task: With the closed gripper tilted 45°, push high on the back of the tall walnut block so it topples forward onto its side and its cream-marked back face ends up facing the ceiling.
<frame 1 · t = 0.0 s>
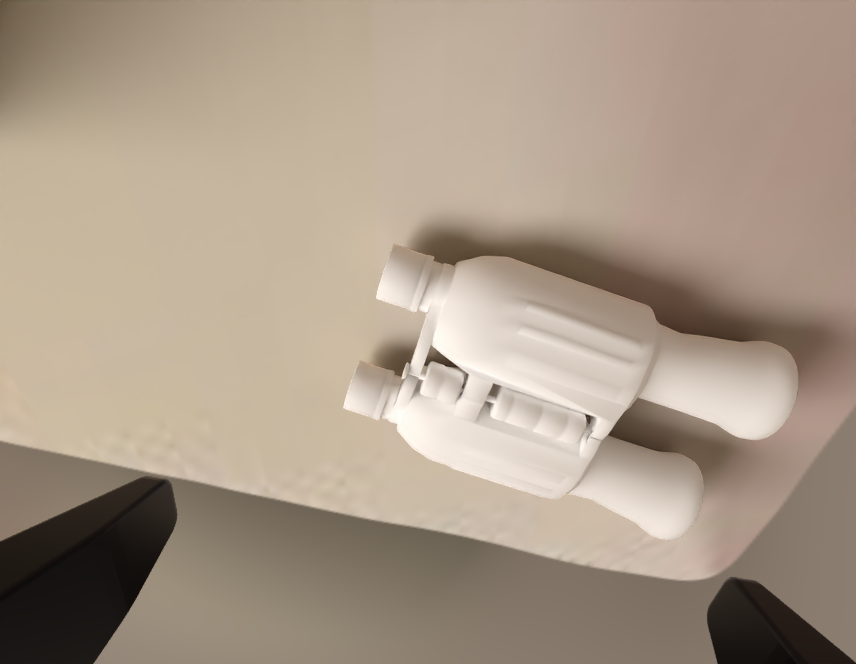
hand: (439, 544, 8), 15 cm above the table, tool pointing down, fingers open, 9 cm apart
binoculars: (541, 361, 24), on the table
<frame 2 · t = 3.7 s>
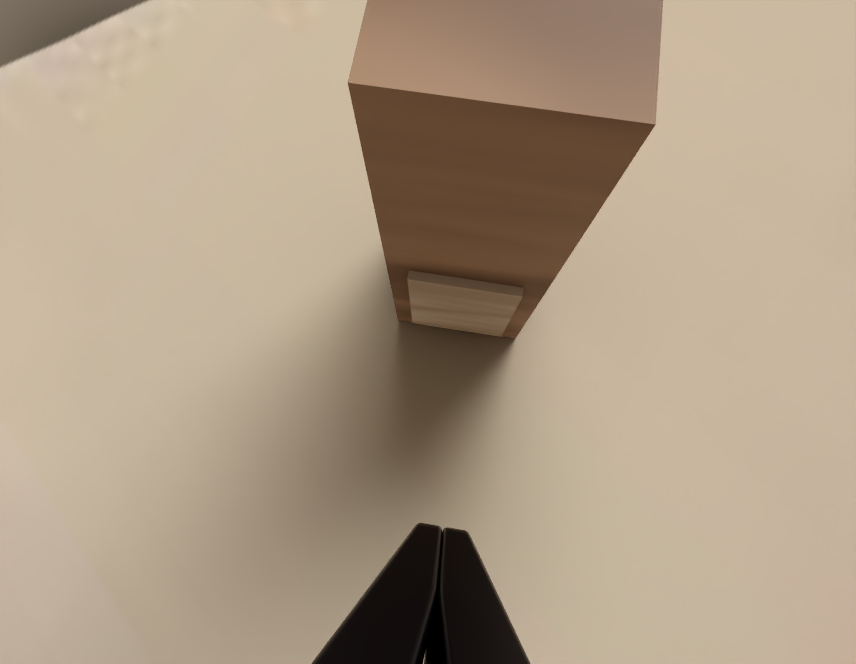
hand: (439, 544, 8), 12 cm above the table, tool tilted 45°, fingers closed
walnut block: (464, 274, 23), on the table
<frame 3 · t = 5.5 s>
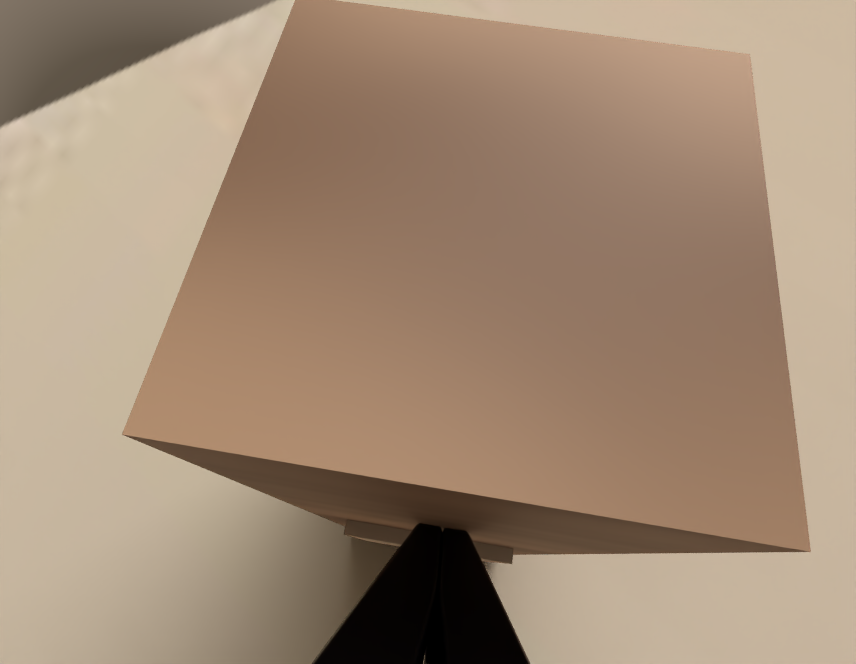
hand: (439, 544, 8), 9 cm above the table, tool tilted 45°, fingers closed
walnut block: (436, 462, 18), on the table, tilted 8°, touching gripper
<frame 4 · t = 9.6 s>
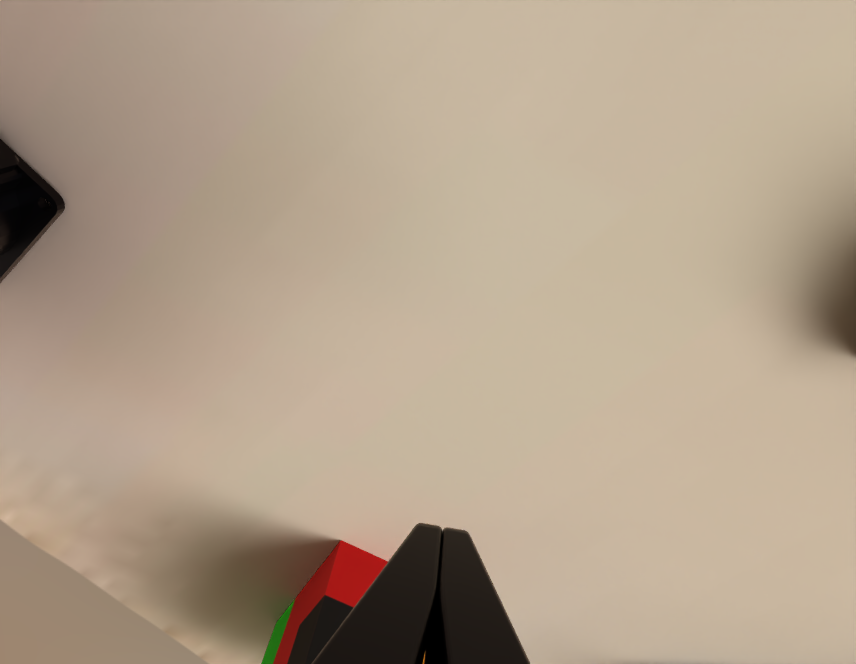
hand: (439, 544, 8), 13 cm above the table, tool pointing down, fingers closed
puzzle toy: (379, 612, 32), on the table
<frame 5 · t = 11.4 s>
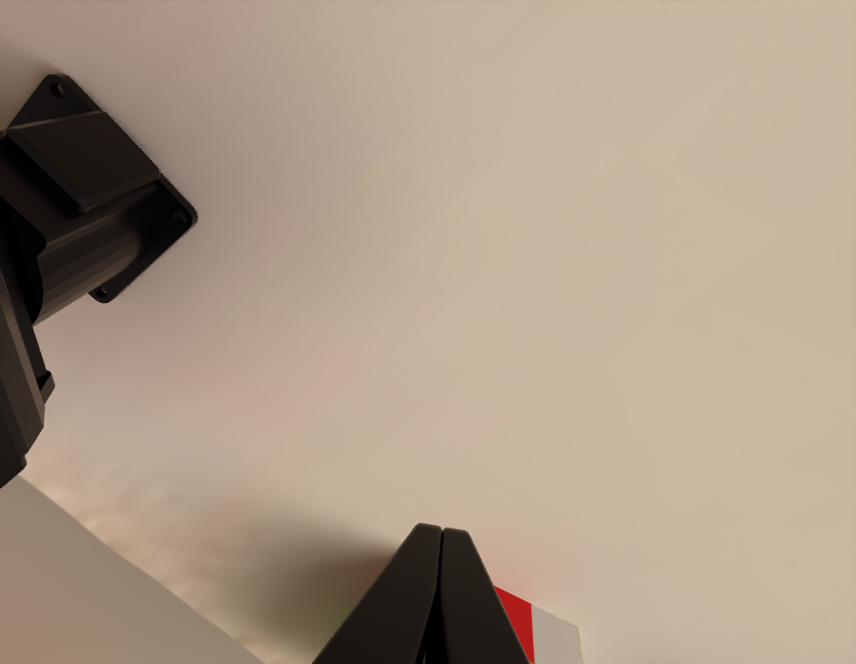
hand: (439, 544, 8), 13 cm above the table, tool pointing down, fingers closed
puzzle toy: (459, 626, 32), on the table
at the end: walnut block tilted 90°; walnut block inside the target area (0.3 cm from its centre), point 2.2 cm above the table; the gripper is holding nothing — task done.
